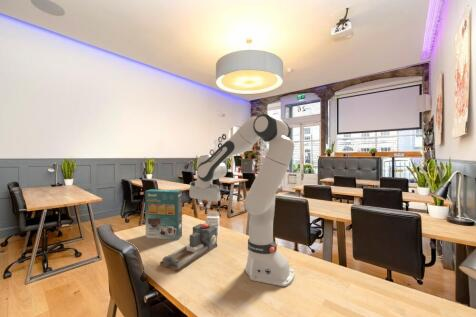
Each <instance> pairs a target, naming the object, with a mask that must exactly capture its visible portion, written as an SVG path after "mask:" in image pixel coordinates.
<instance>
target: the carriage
mask: <svg viewBox="0 0 476 317" xmlns="http://www.w3.org/2000/svg"><path fill="white" fill-rule="evenodd" d="M202 248H203V244H200V233H196V232H195V233H193V232H192V234H189V244H187V245H186V250H187V251H190V252H194V253H195V252H197V251H199V250H200V249H202Z"/></svg>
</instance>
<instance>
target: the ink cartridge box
mask: <svg viewBox="0 0 476 317" xmlns="http://www.w3.org/2000/svg"><path fill="white" fill-rule="evenodd" d="M205 223H206V224H208V225H209V226H213V227H217V236H219V234H220V211H216V210H215V211H213V210H208V211H207V214H206V217H205Z"/></svg>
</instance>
